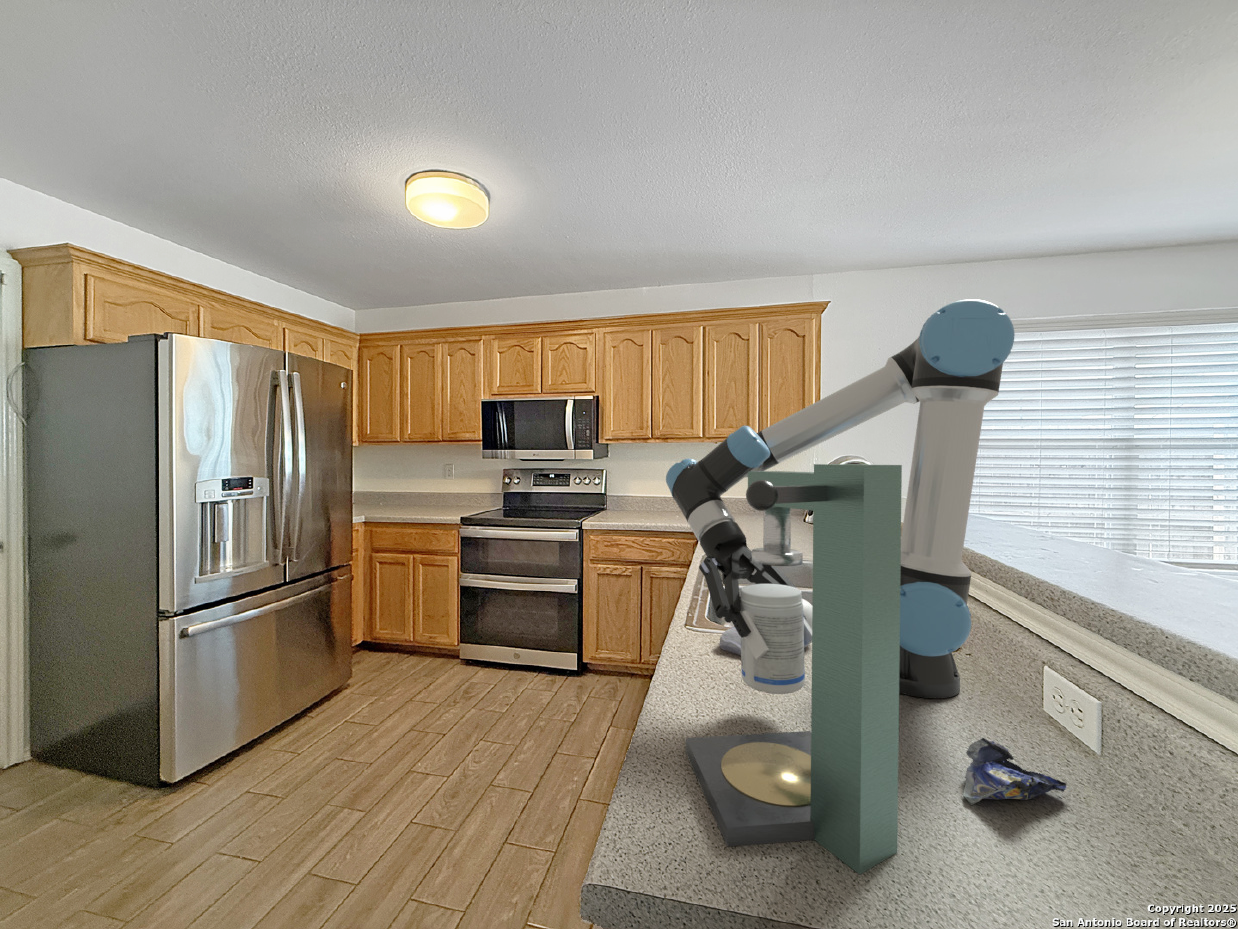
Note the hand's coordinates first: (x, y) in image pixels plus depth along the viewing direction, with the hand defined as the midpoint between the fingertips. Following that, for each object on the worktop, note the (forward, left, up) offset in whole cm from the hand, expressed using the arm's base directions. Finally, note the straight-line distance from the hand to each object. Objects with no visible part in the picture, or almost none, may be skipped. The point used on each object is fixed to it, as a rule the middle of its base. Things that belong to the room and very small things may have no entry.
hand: (787, 648), depth 81 cm
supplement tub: (+1, -3, -7) cm, 7 cm away
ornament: (-17, -35, -12) cm, 41 cm away
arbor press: (+8, +17, -12) cm, 22 cm away
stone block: (-6, -32, -12) cm, 35 cm away
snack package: (-20, +18, -12) cm, 30 cm away
